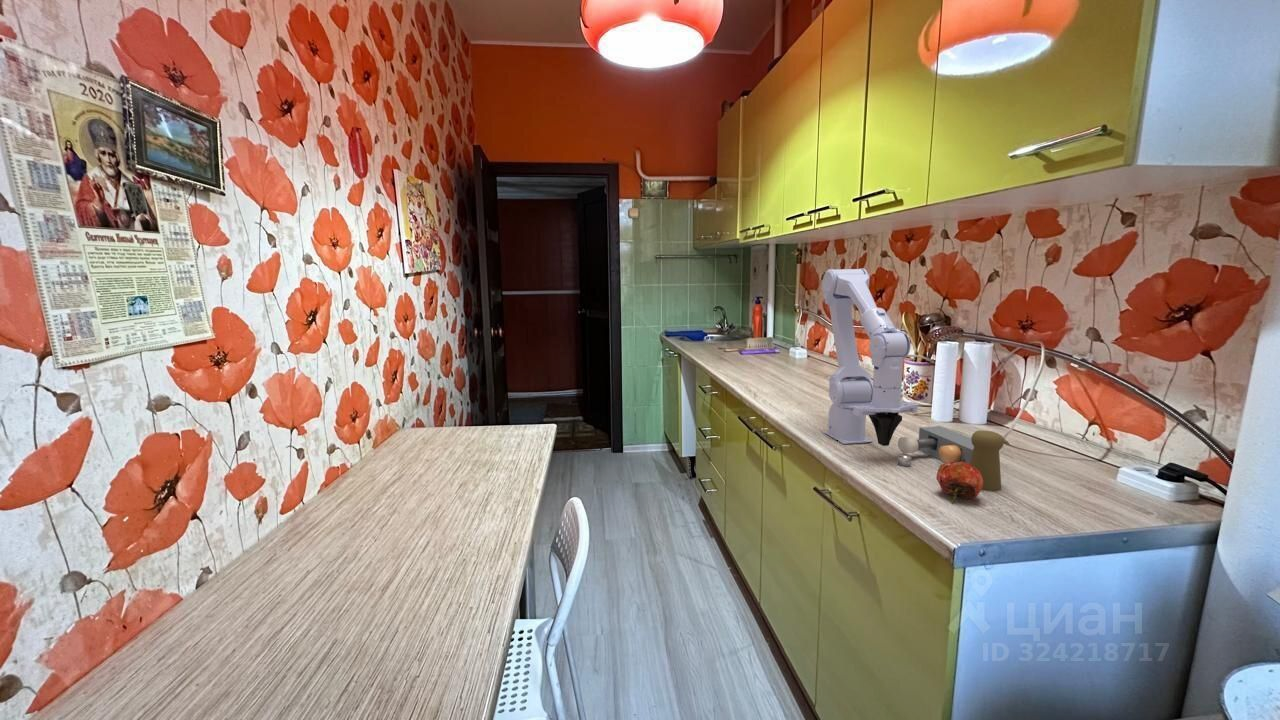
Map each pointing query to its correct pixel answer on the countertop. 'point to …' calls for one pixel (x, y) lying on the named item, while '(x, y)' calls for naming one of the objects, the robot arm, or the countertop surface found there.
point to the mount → (946, 441)
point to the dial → (904, 460)
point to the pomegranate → (960, 479)
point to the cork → (987, 458)
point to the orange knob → (950, 453)
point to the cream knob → (915, 444)
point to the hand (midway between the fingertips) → (883, 444)
